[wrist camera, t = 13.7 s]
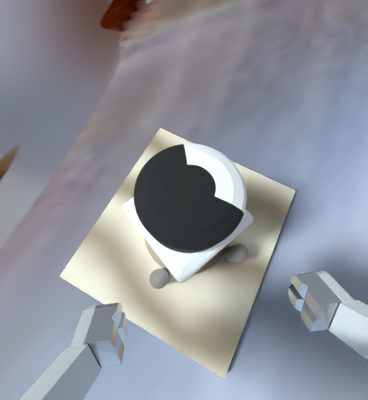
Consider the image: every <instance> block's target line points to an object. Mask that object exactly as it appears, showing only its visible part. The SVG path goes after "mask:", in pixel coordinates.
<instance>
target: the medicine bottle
mask: <svg viewBox="0 0 368 400" xmlns="http://www.w3.org/2000/svg"><path fill="white" fill-rule="evenodd" d="M246 200H247V196H246V188H245V183H244V180H243V178H242V176H241V174H240V172H239V170H238V169H237V167H236V166H235V165H234V163H233V162H232V161H231V160H230V159H229V158H227V157H226V156H225V155H224V154H222V153H221V152H219V151H217V150H215V149H213V148H210V147H207V146H204V145H199V144H179V145H174V146H171V147H168V148H166V149H164V150H162V151H160V152H158V153H157V154H155V155H154V156H153V157H151V158H150V159H149V160H148V161H147V162H146V163H145V165H144V166H143V168H142V169H141V171H140V173H139V175H138V177H137V180H136V182H135V187H134V197H132V198H131V199H130V200H128V201H127V202H125V203H124V204H123V210H124V212H125V213H126V214H127V216H128V217H129V218H130V220H131V221H132V222H133V223H134V225H135V226H136V227H137V229H138V230H139V231H140V233H141V234H142V235H143V237H144V238H145V239H146V241H147V242H148V243H149V245H150V246H151V247H152V249H153V250H154V251H155V253H156V254H157V255H158V257H159V258H160V259H161V260H162V262H163V263H164V264H165V266H166V267H167V268H168V270H169V271H170V272H171V274H172V275H173V276H174V278H175V279H176V280H177V281H178V282H179V283H184V282H186V281H187V280H188V279H189V278H190V277H191V276H192V275H193V274H195V273H196V272H197V271H198V270H199V269H200V268H201V267H202V266H204V265H205V264H206V263H207V262H208V261H209V260H210V259H211V258H213V257H214V256H215V255H216V254H217V253H218V252H219V251H220V250H222V249H223V248H224V247H225V246H226V245H227V244H228V243H229V242H231V241H232V240H233V239H234V238H235V237H236V236H237V235H238V234H240V233H241V232H242V231H243V230H244V229H245V228H246V227H247V226H249V225H250V224H251V223H252V221H253V217H252V215H251V214H250V213H249V212H248V211H247V210H246V209H245V208H246Z"/></svg>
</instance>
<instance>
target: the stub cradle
mask: <svg viewBox="0 0 368 400" xmlns="http://www.w3.org/2000/svg"><path fill="white" fill-rule="evenodd" d="M179 144H194V143H192V142H189V141H187V140H185V139H183V138H181V137H179V136H177V135H174V134H172V133H170V132H168V131H166V130H164V129H161V128H160V130H159V131H158V132H157V134H156V135H155V137H154V138H153V140H152V141H151V143H150V144H149V146H148V147H147V149H146V150H145V152H144V153H143V154H142V156H141V157H140V159H139V160H138V162H137V163H136V165H135V166H134V168H133V169H132V171H131V172H130V174H129V175H128V177H127V178H126V179H125V181H124V182H123V184H122V185H121V187H120V188H119V190H118V191H117V193H116V194H115V196H114V197H113V199H112V200H111V201H110V203H109V204H108V206H107V207H106V209H105V210H104V212H103V213H102V215H101V216H100V218H99V219H98V221H97V222H96V224H95V225H94V226H93V228H92V229H91V231H90V232H89V234H88V235H87V237H86V238H85V240H84V241H83V243H82V244H81V246H80V247H79V248H78V250H77V251H76V253H75V254H74V256H73V257H72V259H71V260H70V262H69V263H68V265H67V266H66V268H65V269H64V270H63V272H62V273H61V275H60V277H61V278H63V279H65V280H66V281H68V282H69V283H71V284H73V285H74V286H76V287H77V288H79V289H81V290H82V291H84V292H85V293H87V294H89V295H90V296H92V297H93V298H95V299H97V300H98V301H100V302H101V303H103V304H111V303H119V302H121V304H122V306H123V308H122V312H124V313H125V315H126V318H127V319H129V320H130V321H132V322H133V323H135V324H137V325H138V326H140V327H141V328H143V329H145V330H146V331H148V332H149V333H151V334H153V335H154V336H156V337H157V338H159V339H161V340H162V341H164V342H166V343H167V344H169V345H170V346H172V347H174V348H175V349H177V350H178V351H180V352H182V353H183V354H185V355H186V356H188V357H190V358H191V359H193V360H194V361H196V362H198V363H199V364H201V365H202V366H204V367H206V368H207V369H209V370H210V371H212V372H214V373H215V374H217V375H218V376H220V377H222V378H223V379H225V376H226V373H227V371H228V368H229V366H230V363H231V360H232V358H233V355H234V352H235V350H236V347H237V344H238V342H239V339H240V337H241V334H242V331H243V329H244V326H245V323H246V321H247V318H248V315H249V313H250V310H251V307H252V305H253V302H254V300H255V297H256V294H257V292H258V289H259V286H260V284H261V281H262V278H263V276H264V273H265V271H266V268H267V265H268V263H269V260H270V257H271V255H272V252H273V249H274V247H275V244H276V242H277V239H278V236H279V234H280V231H281V228H282V226H283V223H284V220H285V218H286V215H287V213H288V210H289V207H290V205H291V202H292V199H293V197H294V194H295V190H293V189H291V188H289V187H287V186H284V185H282V184H280V183H278V182H276V181H274V180H271V179H269V178H267V177H265V176H263V175H261V174H258V173H256V172H254V171H252V170H250V169H248V168H246V167H243V166H241V165H239V164H237V163H235V162H233V161H232V162H233V163H234V165H235V166H236V167H237V169H238V170H239V172H240V174H241V176H242V178H243V180H244V183H245V188H246V196H247V200H246V208H245V209H246V210H247V211H248V212H249V213H250V214H251V215H252V217H253V221H252V223H251V224H250V225H249V226H247V227H246V228H245V229H244V230H243V231H242V232H241V233H240V234H238V235H237V236H236V237H235V238H234V239H233V240H232V241H231V242H229V243H228V244H227V245H226V246H225V247H224V248H223V249H222V250H220V251H219V252H218V253H217V254H216V255H215V256H214V257H213V258H211V259H210V260H209V261H208V262H207V263H206V264H205V265H204V266H202V267H201V268H200V269H199V270H198V271H197V272H196V273H195V274H193V275H192V276H191V277H190V278H189V279H188V280H187V281H186V282H184V283H179V282H178V281H177V280H176V279H175V278H174V276H173V275H172V274H171V272H170V271H169V270H168V268H167V267H166V266H165V264H164V263H163V262H162V260H161V259H160V258H159V257H158V255H157V254H156V253H155V251H154V250H153V249H152V247H151V246H150V245H149V243H148V242H147V241H146V239H145V238H144V237H143V235H142V234H141V233H140V231H139V230H138V229H137V227H136V226H135V225H134V223H133V222H132V221H131V220H130V218H129V217H128V216H127V214H126V213H125V212H124V210H123V204H124V203H125V202H127V201H128V200H130V199H131V198H132V197H134V187H135V182H136V180H137V177H138V175H139V173H140V171H141V169H142V168H143V166H144V165H145V163H146V162H147V161H148V160H149V159H150V158H151V157H153V156H154V155H155V154H157V153H158V152H160V151H162V150H164V149H166V148H168V147H171V146H174V145H179Z"/></svg>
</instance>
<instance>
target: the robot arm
mask: <svg viewBox="0 0 368 400" xmlns="http://www.w3.org/2000/svg"><path fill="white" fill-rule="evenodd" d="M291 282H292V285H291V286H290V287H289V291H288V294H289V298H290V301H291V303H292V305H293V306H294V308H295V309H297V310H298V311H300V312H301V319H302V320H303V322H304V323H305V325H306V326H307V328H308V329H309V331H310V332H313V331H321V330H328V329H329V331H330V332H331V333H333V334H334V335H335V336H337V337H338V338H339V339H340V340H342V341H343V342H344V343H346V344H347V345H348V346H350V347H351V348H352V349H354V350H355V351H356V352H357V353H359V354H360V355H361V356H363V357H364V358H365V359H367V360H368V305H367V304H365V303H363V302H361V301H359V300H354V299H353V298H352V297H351V296H350V295H349V294H348V293H347V292H346V291H345V290H344V289H343V288H342V287H341V286H340V285H339V284H338V283H337V282H336V281H335V280H334V279H333V278H332V277H331V276H330V275H329V274H328V273H327V272H326V271H318V272H310V273H304V274H299V275H293V276H292V277H291ZM122 308H123V306H122V304H121V302H119V303H111V304H103V305H95V306H88V307H86V308H85V309H84V311H83V313H82V316H81V318H80V321H79V324H78V327H77V329H76V332H75V335H74V337H73V340H72V343H71V346H70V347H67V348H66V349H65V350H64V351H63V352H62V353H61V354H60V355H59V356H58V357H57V359H56V360H55V361H54V362H53V363H52V364H51V365H50V366H49V367H48V369H47V370H46V371H45V372H44V373H43V374H42V375H41V376H40V377H39V378H38V380H37V381H36V382H35V383H34V384H33V385H32V386H31V387H30V388H29V390H28V391H27V392H26V393H25V394H24V395H23V396H22V397H21V398H20V400H83V399H84V397H85V395H86V394H87V392H88V390H89V389H90V387H91V386H92V384H93V382H94V381H95V379H96V377H97V376H98V374H99V373H100V371H101V368H104V367H109V366H114V365H119V364H122V358H123V351H124V345H123V342H122V340H123V339H124V337H125V336H126V330H127V320H126V315H125V313H124V312H122Z"/></svg>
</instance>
